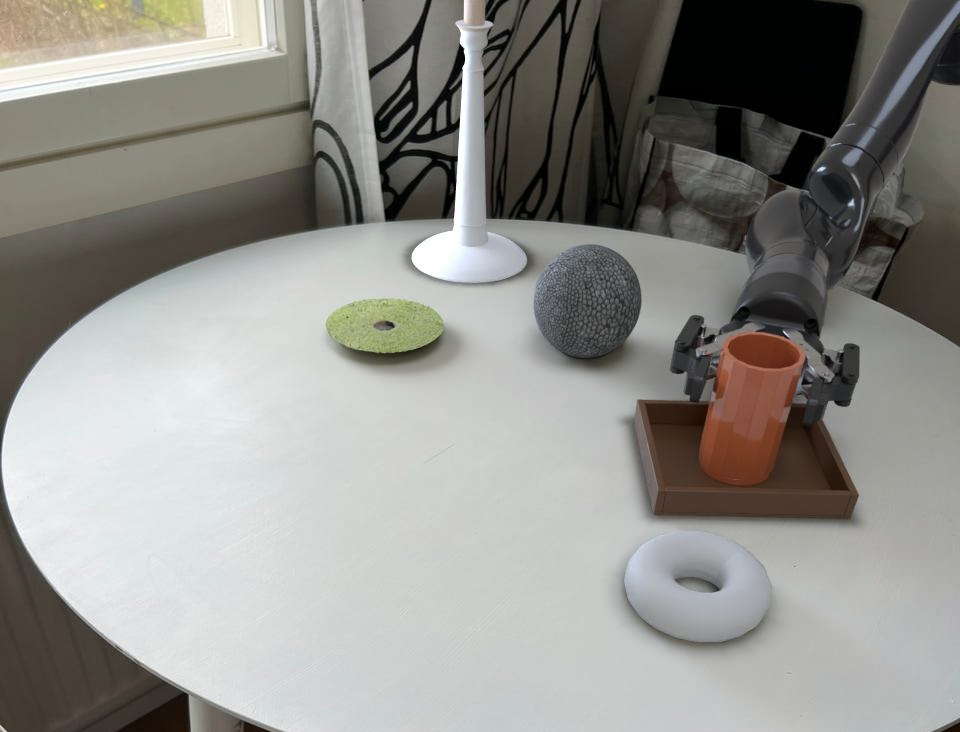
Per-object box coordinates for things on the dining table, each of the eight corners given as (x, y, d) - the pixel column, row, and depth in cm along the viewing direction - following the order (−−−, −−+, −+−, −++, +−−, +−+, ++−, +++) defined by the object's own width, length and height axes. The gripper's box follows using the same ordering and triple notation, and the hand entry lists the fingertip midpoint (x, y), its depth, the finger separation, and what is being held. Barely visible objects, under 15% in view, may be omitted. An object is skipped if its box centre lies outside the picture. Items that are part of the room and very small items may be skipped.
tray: (806, 432, 83) (815, 403, 81) (848, 524, 73) (859, 495, 71) (632, 427, 82) (637, 398, 80) (652, 520, 73) (658, 490, 71)
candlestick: (538, 284, 102) (563, -57, 81) (420, 290, 100) (415, -57, 79) (513, 237, 111) (529, -81, 90) (404, 242, 109) (396, -82, 88)
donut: (592, 605, 66) (715, 676, 61) (597, 567, 64) (725, 637, 59) (673, 541, 71) (792, 601, 67) (681, 503, 69) (805, 563, 64)
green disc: (344, 310, 97) (343, 291, 95) (453, 321, 96) (453, 303, 94) (313, 363, 89) (311, 344, 87) (431, 376, 88) (431, 357, 86)
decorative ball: (580, 389, 87) (593, 282, 80) (508, 346, 92) (514, 243, 85) (654, 356, 92) (672, 253, 85) (582, 318, 97) (593, 218, 90)
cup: (763, 444, 80) (794, 332, 73) (779, 486, 75) (814, 372, 68) (692, 443, 79) (716, 330, 72) (704, 485, 75) (731, 369, 68)
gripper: (706, 256, 81) (667, 339, 70) (878, 285, 78) (865, 376, 67) (690, 338, 86) (651, 427, 75) (850, 368, 83) (834, 466, 72)
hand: (752, 403), depth 71 cm, fingers open, 8 cm apart
